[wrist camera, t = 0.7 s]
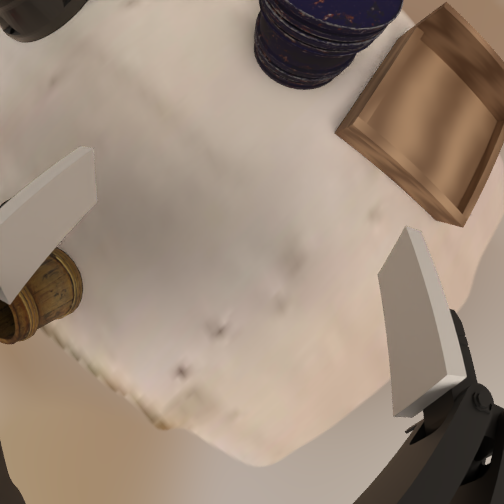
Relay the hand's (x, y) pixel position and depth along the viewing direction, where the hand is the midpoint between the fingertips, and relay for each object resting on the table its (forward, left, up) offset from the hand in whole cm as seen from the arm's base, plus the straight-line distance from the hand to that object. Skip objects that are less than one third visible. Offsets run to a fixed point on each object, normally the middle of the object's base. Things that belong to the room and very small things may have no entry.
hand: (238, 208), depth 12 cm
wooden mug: (+1, -25, -20) cm, 32 cm away
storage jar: (-13, +11, -20) cm, 26 cm away
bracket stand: (-2, +23, -20) cm, 30 cm away
